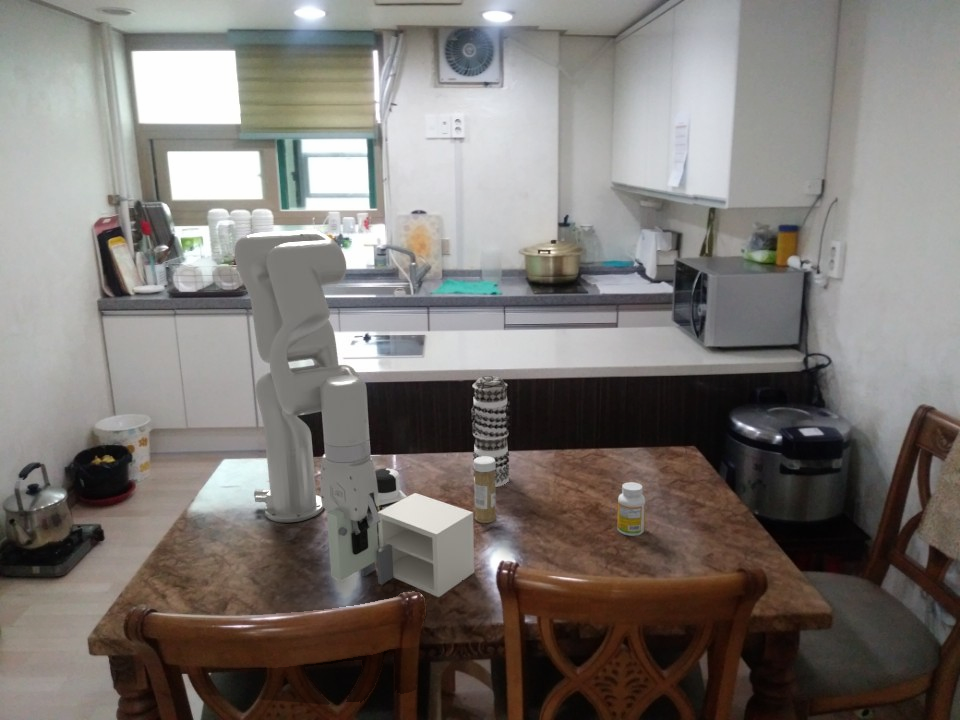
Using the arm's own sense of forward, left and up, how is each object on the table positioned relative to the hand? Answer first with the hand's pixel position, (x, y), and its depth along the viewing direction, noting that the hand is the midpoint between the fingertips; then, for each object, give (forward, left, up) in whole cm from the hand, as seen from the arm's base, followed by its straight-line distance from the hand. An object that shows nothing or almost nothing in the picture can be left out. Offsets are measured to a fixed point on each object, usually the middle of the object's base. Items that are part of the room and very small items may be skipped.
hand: (354, 547), depth 127 cm
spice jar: (+19, +29, -8) cm, 36 cm away
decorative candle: (+18, +49, -8) cm, 53 cm away
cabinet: (+10, +6, -8) cm, 14 cm away
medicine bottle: (-1, +24, -8) cm, 25 cm away
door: (0, 0, -4) cm, 4 cm away
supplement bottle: (+49, +27, -8) cm, 57 cm away
